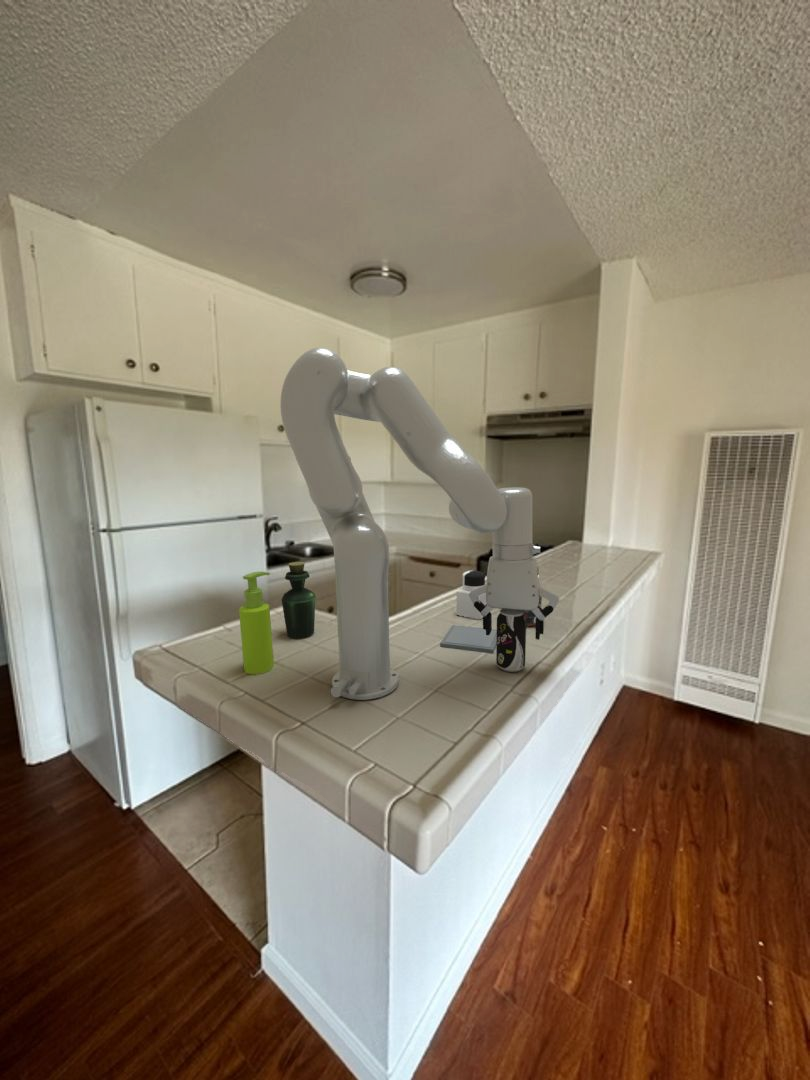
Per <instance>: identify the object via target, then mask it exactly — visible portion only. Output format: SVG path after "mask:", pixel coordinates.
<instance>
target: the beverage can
mask: <svg viewBox="0 0 810 1080" xmlns="http://www.w3.org/2000/svg"><path fill="white" fill-rule="evenodd" d="M496 630H497V639H496V647H495V649H496V650H495V651H496V652H495V664H496V666H497V667H498V668H499V669H501V670H502V671H505V672H508V673H509V672H510V673H517V672H520V670H523V669H524V668H525V667H526V646H527V644H526V642H527V626H526V618H525V616H524V615H523V611H522V610H512V609H499V614H497V617H496Z"/></svg>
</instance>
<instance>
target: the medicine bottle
mask: <svg viewBox="0 0 810 1080" xmlns="http://www.w3.org/2000/svg"><path fill="white" fill-rule="evenodd" d="M484 585H486V574H485V573H484V572H482V571H479V570H467V571H465V572H463V573H462V587H461V588H459V589H458V590H456V616H457V615H459V617H462V616H464V617H463V618H468V617H470V618H469V619H473V618H475V619H474V620H479V619H481V620H483V616H482V615H481V613H480V612H479V611H478V610H477V609H476V608H475V607H474V604H473V603H472V601H471V599H470V597H469V593H470V592H471V591H473V590H476V589H478V588H480V587H482V586H484ZM478 598H479V600H480V601H481V602H482V603H483V604H484V605H486V604H487V603H486V593H484V594H482V595H479V596H478Z"/></svg>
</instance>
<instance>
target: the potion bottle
mask: <svg viewBox="0 0 810 1080" xmlns="http://www.w3.org/2000/svg"><path fill="white" fill-rule="evenodd" d="M288 568H289V571H288V572H286V574H285V577H284V579H285V580H287V581H289V584H290V586H291V588H290V589H289V590H287V591H286V592H284V593H283V595H282V597H281V606H282V612H283V617H284V623H285V630H286V635H287V636H288V638H290V639H295V640H299V639H301V640H302V639H306V638H309V637H312V636H313V635H314V633H315V619H316V618H315V615H316V614H315V613H316V594H315V593H314V592H313V591H312V590H311V589H308V588H307V587H305V583H306V580H307V579H309V578H310V577H311V576H310V573H309V572H308V571H307V570H305V569H304V568H305V562H303V561H293V562H290V563H288Z"/></svg>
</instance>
